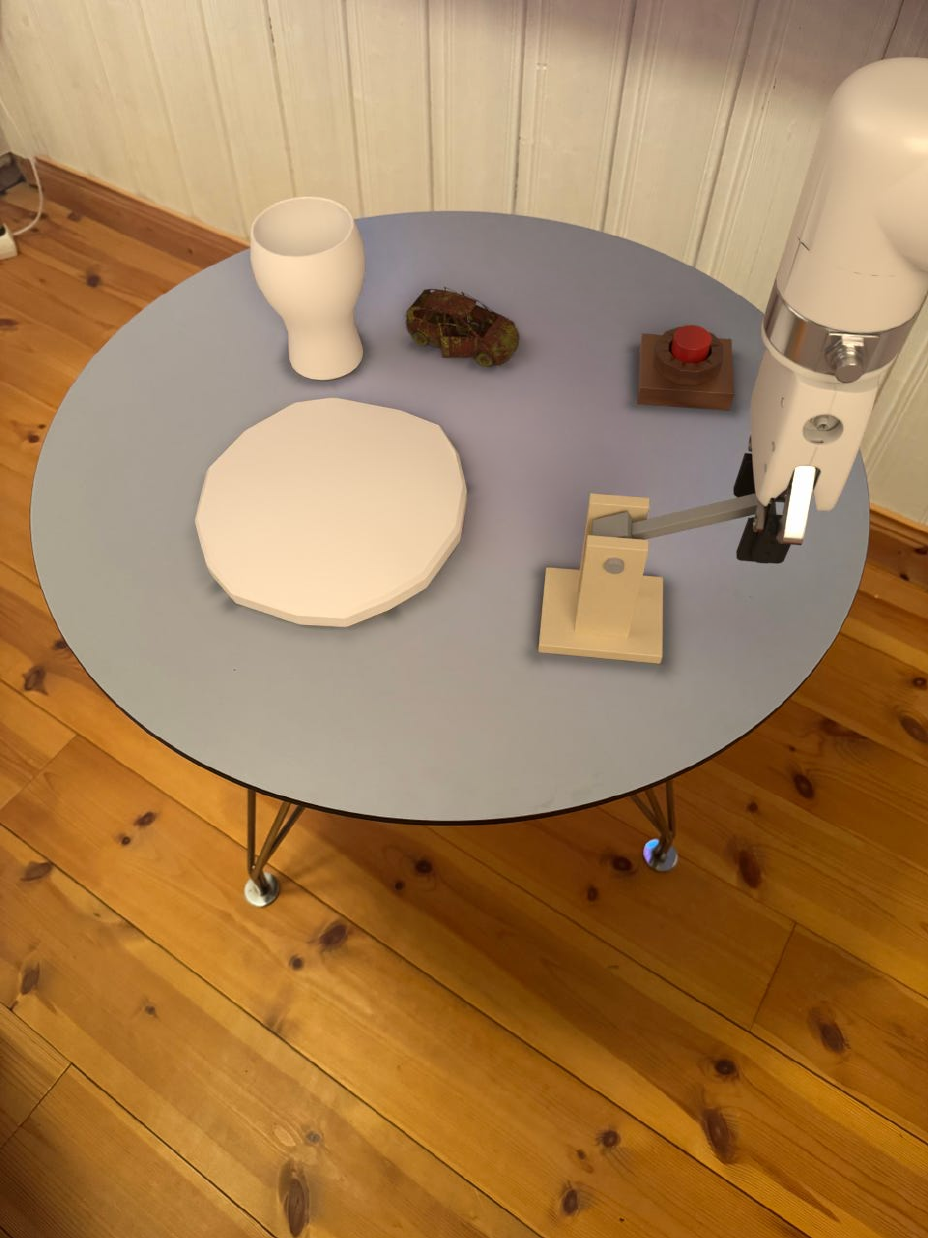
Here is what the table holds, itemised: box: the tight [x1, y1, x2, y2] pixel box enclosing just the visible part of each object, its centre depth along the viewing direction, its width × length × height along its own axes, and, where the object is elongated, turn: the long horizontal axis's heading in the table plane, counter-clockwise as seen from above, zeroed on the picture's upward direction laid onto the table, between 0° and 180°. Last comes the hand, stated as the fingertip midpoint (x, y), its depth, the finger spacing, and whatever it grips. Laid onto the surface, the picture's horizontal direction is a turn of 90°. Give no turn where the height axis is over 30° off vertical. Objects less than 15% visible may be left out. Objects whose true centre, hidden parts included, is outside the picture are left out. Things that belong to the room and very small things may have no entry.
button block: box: [637, 325, 735, 411], centre depth 92 cm, size 9×8×4 cm
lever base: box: [537, 492, 664, 665], centre depth 72 cm, size 10×8×13 cm
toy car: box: [405, 286, 520, 368], centre depth 95 cm, size 12×7×5 cm, turn 63°
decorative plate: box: [194, 397, 468, 628], centre depth 83 cm, size 25×4×25 cm
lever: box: [592, 493, 778, 540], centre depth 66 cm, size 13×5×2 cm, turn 83°
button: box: [671, 324, 711, 363], centre depth 90 cm, size 4×4×2 cm
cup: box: [249, 195, 367, 381], centre depth 91 cm, size 11×11×15 cm
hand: (757, 524), depth 66 cm, fingers closed on lever, 5 cm apart
